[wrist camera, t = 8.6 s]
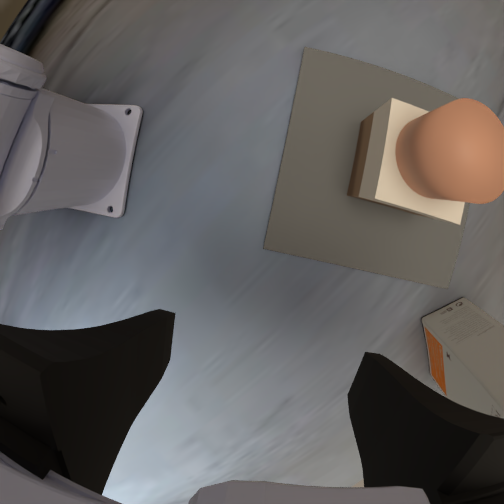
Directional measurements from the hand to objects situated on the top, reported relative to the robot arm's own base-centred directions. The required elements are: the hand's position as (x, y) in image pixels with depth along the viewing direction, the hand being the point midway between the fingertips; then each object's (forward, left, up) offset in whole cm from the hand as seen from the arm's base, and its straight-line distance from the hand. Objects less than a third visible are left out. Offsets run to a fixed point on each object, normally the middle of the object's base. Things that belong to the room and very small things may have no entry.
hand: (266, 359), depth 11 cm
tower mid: (+6, +9, -7) cm, 13 cm away
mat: (+6, +9, -10) cm, 15 cm away
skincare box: (+15, -2, -11) cm, 18 cm away
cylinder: (+6, +9, -4) cm, 12 cm away
